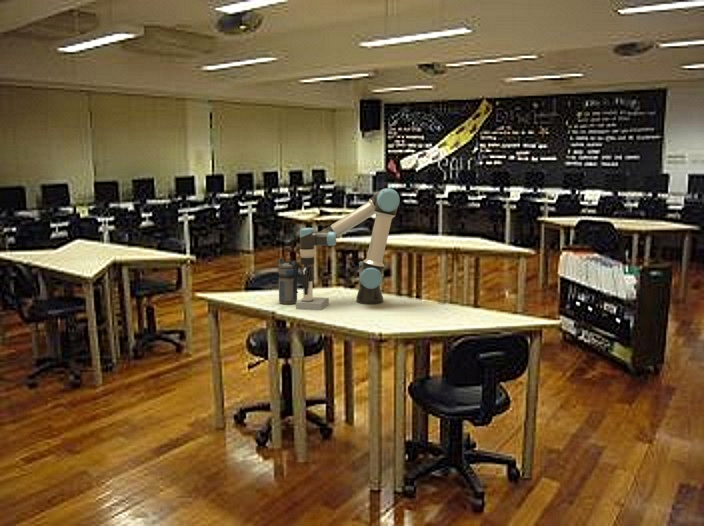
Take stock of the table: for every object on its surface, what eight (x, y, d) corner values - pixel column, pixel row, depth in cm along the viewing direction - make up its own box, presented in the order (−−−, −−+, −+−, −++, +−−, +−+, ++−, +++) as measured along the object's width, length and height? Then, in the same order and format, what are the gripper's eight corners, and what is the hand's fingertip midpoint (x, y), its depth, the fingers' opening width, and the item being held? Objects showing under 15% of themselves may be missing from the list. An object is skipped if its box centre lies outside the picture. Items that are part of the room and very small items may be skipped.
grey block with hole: (328, 303, 346) (328, 297, 345) (320, 310, 330) (320, 303, 330) (304, 302, 349) (304, 296, 348) (295, 308, 333) (295, 302, 333)
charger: (312, 299, 339) (312, 281, 338) (310, 300, 335) (310, 282, 334) (305, 299, 340) (305, 280, 338) (303, 300, 336) (303, 282, 335)
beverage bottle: (293, 306, 341) (292, 260, 337) (274, 303, 348) (273, 259, 344) (304, 302, 349) (303, 258, 346) (285, 300, 356) (284, 257, 353)
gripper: (305, 254, 343) (305, 296, 347) (295, 258, 327) (296, 302, 330) (318, 254, 342) (318, 296, 345) (309, 259, 325) (310, 302, 328)
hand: (307, 299), depth 338 cm, fingers closed on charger, 4 cm apart
